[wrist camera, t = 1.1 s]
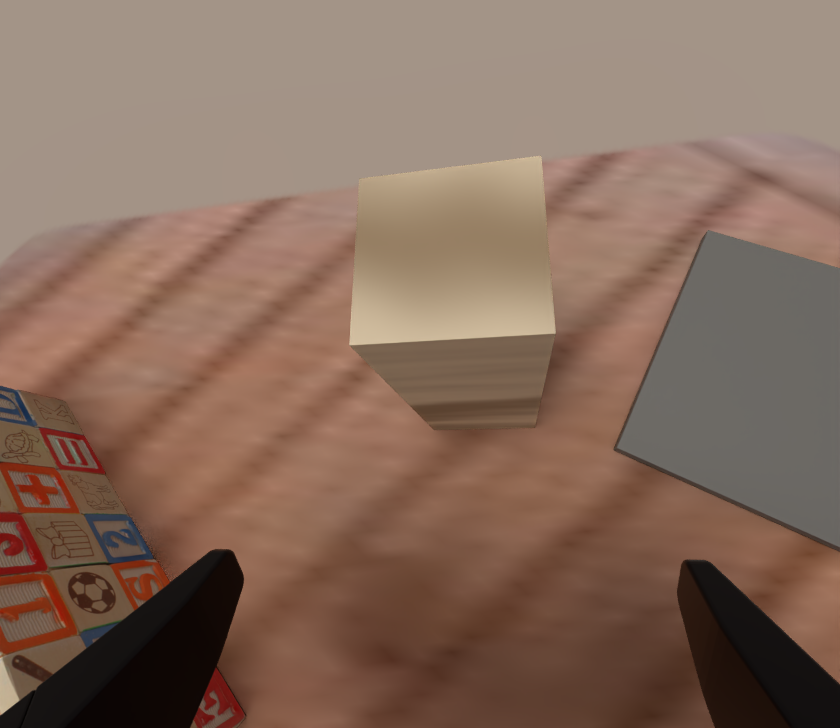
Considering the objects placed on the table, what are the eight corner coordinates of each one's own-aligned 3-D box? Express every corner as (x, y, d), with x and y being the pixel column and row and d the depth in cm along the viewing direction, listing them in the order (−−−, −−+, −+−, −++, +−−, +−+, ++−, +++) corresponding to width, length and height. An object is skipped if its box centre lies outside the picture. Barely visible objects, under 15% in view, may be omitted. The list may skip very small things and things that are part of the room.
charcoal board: (990, 324, 21) (1008, 317, 20) (917, 586, 18) (935, 589, 18) (702, 238, 24) (708, 230, 23) (613, 450, 22) (616, 447, 21)
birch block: (535, 427, 23) (555, 333, 11) (434, 430, 24) (349, 345, 12) (529, 332, 25) (541, 155, 12) (434, 338, 25) (359, 178, 13)
